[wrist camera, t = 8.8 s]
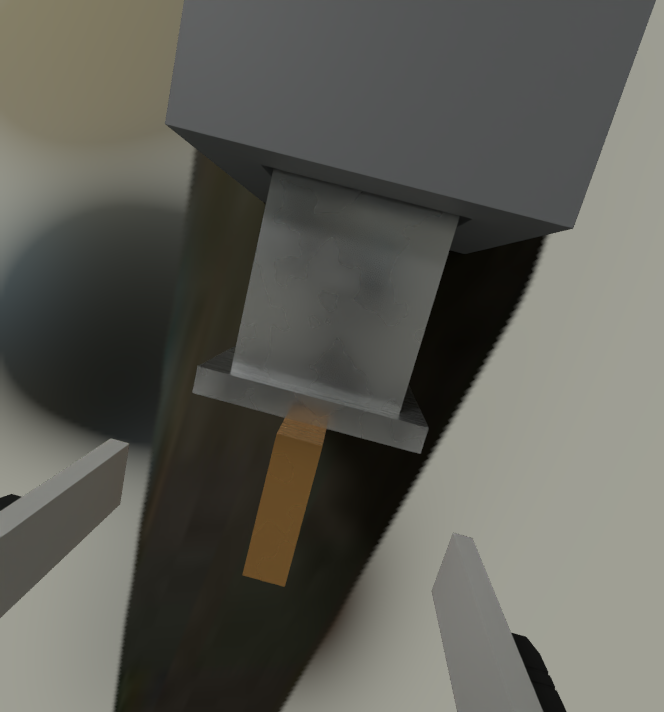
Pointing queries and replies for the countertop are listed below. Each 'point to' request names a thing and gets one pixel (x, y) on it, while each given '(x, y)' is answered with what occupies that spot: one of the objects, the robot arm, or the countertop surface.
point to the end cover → (329, 337)
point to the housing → (412, 100)
